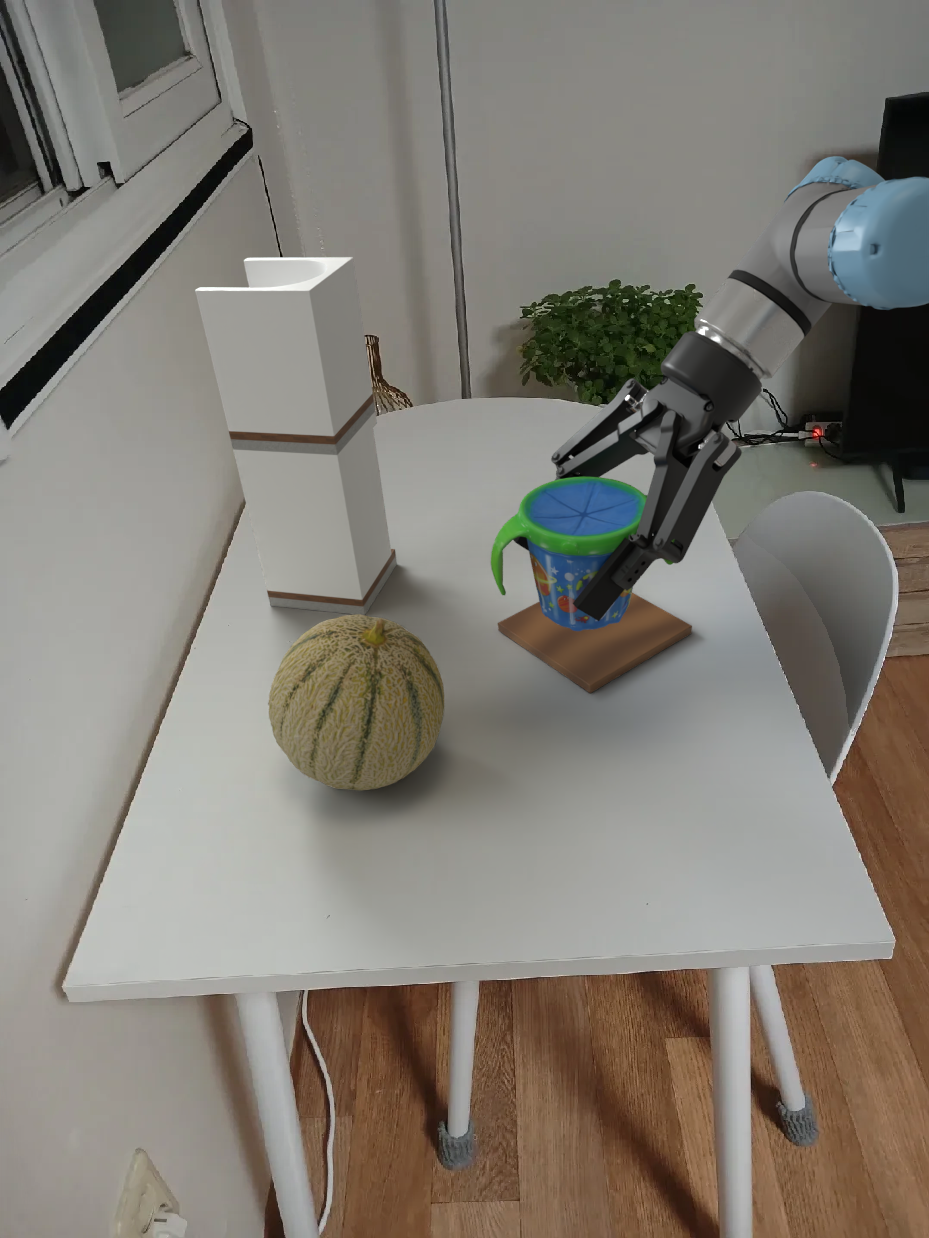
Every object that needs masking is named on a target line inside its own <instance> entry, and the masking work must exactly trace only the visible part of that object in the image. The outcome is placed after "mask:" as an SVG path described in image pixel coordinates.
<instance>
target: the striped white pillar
mask: <svg viewBox="0 0 929 1238" xmlns="http://www.w3.org/2000/svg"><path fill="white" fill-rule="evenodd" d="M354 259H355V258H354V257H353V256H331V257H328V256H327V257H325V256H324V257H322V256H321V257H320V256H319V257H316V256H314V257H246V258H245V259H243V265H244V271H245V274H246V275H245V276H246V280H247V283H248V287H216V286H215V287H207V286H206V287H203V286H202V287H198V288H196V289H195V290H194V292H195V296H196V301H197V305H198V309H199V313H200V317H201V321H202V327H203V331H204V335H205V339H206V342H207V347H208V351H209V355H210V359H211V364H212V367H213V372H214V376H215V380H216V384H217V389H218V393H219V397H220V401H221V406H222V410H223V414H224V418H225V421H226V422H225V423H226V426H227V430H228V434H229V438H230V443H231V448H232V451H233V456H234V459H235V463H236V467H237V471H238V476H239V480H240V485H241V489H242V493H243V497H244V501H245V505H246V509H247V514H248V518H249V522H250V527H251V531H252V534H253V538H254V543H255V546H256V551H257V555H258V560H259V563H260V567H261V572H262V577H263V580H264V584H265V588H266V592H267V597H268V601H269V605H270V607H279V608H290V609H299V610H310V611H319V612H329V613H336V614H337V613H338V614H346V615H357V614H361V615H365V616H366V615H367V613H368V611H369V610H370V608H371V606H372V605H373V603H374V602H375V600H376V598H377V597H378V595H379V594H380V592H381V590H382V589H383V587H384V585H385V584H386V582H387V581H388V579H389V577H390V576H391V574H393V571H394V570H395V568H396V567H397V566H398V560H397V553H396V549H395V548H391V541H390V534H389V526H388V521H387V514H386V506H385V499H384V493H383V486H382V479H381V471H380V465H379V458H378V452H377V444H376V438H375V431H374V428H375V426H376V425H377V424H378V422H377V414H376V407H375V400H374V394H373V393H374V392H373V385H372V378H371V372H370V365H369V358H368V350H367V344H366V335H365V329H364V323H363V316H362V309H361V308H362V307H361V301H360V295H359V287H358V281H357V274H356V267H355V266H356V265H355V260H354Z"/></svg>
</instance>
